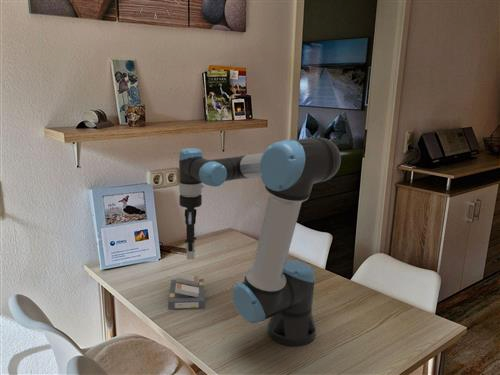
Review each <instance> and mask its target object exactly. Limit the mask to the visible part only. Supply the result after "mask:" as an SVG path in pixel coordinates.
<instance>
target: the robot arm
mask: <svg viewBox="0 0 500 375" xmlns="http://www.w3.org/2000/svg"><path fill="white" fill-rule="evenodd" d="M203 157H204V156H203V152H202V150H201V149H200V148H194V147H188V148H182V149H181V150H180V151H179V157H178V158H179V160H178V167H179V168H178V175H179V176H178V178H179V183H178V184H179V185H178V190H179V191H178V193H179V206H180V207H182V208H185V209H184V218H185V222H184V223H185V225H186V229H185V230H186V234H185V235H186V239H185V240H184V243H185V244H186V260H195V250H196V249H195V248H196V247H195V246H196V245H195V241H197V237H195V235H196V234H195V224H196V220H197V209H196V208H199V207H201V206H202V204H203V202H202V200H203V199H202V198H203V197H202V196H203V195H202V190H203V189H204V187H205V185H206V186H208V187H209V186H210V187H220V186H221V185H223V184H224V183H225V182H229V181H235V180H244V179H245V180H246V179H256V178H261V181H262V183H263V184H264V189H265V191H266V192H267V193H268V199H267V201H266V202H267V203H266V207H265V211H264V216H263V220H262V223H261V224H262V225H261V229H260V234H259V238H258V243H257V247H256V252H255V255H254V260H253V265H251V266H249V267H248V268H247V270H246V271H245V276H244V279H243V282H239V283H238V284H237V285H235V286H234V288H233V290H232V299H233V303H234V305H235V308H236V310H237V312H238V314H239V315H240V316H241V317H242V319H244V320H245V321H247V322H248V323H250V324H256V323H260V322H264V321H265V320H268V319H269V320H268V322H267V334H268V336H269V337H270V338H271V339H272V340H273V341H275V342H277V343H279V344H281V345H286V346H290V347H299V346H305V345H308V344H310V343H311V342H313V341H314V339H315V338H316V333H317V325H316V323H315V318H314V315H313V312H312V311H313V302H314V293H315V292H314V290H315V282H316V281H315V280H316V279H315V270H314V268H312V266H310V265H309V264H308V263H305V262H303V261H300V260H293V259H287V258H288V256H289V252H290V248H291V246H292V245H291V244H292V242H293V236H294V232H295V229H296V225H297V222H298V218H299V214H300V210H301V206H302V203H304V202H306V201H308V199H309V198H310V196H311V192H312V188H313V185H314V184H317V183H323V182H326V181H328V180H330V179H332V178H333V177H334V176H335V175H336V174H337V173H338V171H339V169H340V166H341V162H342V157H341V152H340V150H339V148H338V146H337V145H336V144H335V143H334V142H333V141H331V139H328V138H324V137H310V138H299V139H298V138H297V139H284V140H281V141H277V142H273V143H272V144H271V145H269V146H268V147H266V148H265V150H264V152H261V153H253V154H248V155H247V154H245V155H239V156H232V157H223V158H214V159H207V158H203ZM202 188H203V189H202ZM312 340H313V341H312Z"/></svg>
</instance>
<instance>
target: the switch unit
mask: <svg viewBox="0 0 500 375" xmlns="http://www.w3.org/2000/svg"><path fill="white" fill-rule="evenodd" d="M204 279H205V278H199V283H198V286H193V285H189V284H185V283H181V282H177V281H176V279H171V280H170V287H169V288H170V289H169V296H168V297H169V298H168V310H169V311H170V310H193V309H194V310H195V309H196V310H197V309H204V310H205V307H206V305H205V303H206V301H205V280H204ZM176 283H180V284H184V285H189V286H193V287H198V288H199V295H198V297H194V296H189V295H184V294H179V293H175V286H176Z"/></svg>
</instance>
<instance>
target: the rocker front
mask: <svg viewBox="0 0 500 375" xmlns="http://www.w3.org/2000/svg"><path fill="white" fill-rule="evenodd" d="M175 293H179V294H184V295H189V296H194V297H198V295H199V288H198V287H193V286H189V285H184V284H180V283H176V286H175Z"/></svg>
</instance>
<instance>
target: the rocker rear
mask: <svg viewBox="0 0 500 375" xmlns="http://www.w3.org/2000/svg"><path fill="white" fill-rule="evenodd" d="M199 279H200V278H199V277H197V276H193V275H191V274H190V275H189V274H186V273H181V272H176V276H175V280H176V281H177V282H181V283H185V284H189V285H193V286H198V283H199Z"/></svg>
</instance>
